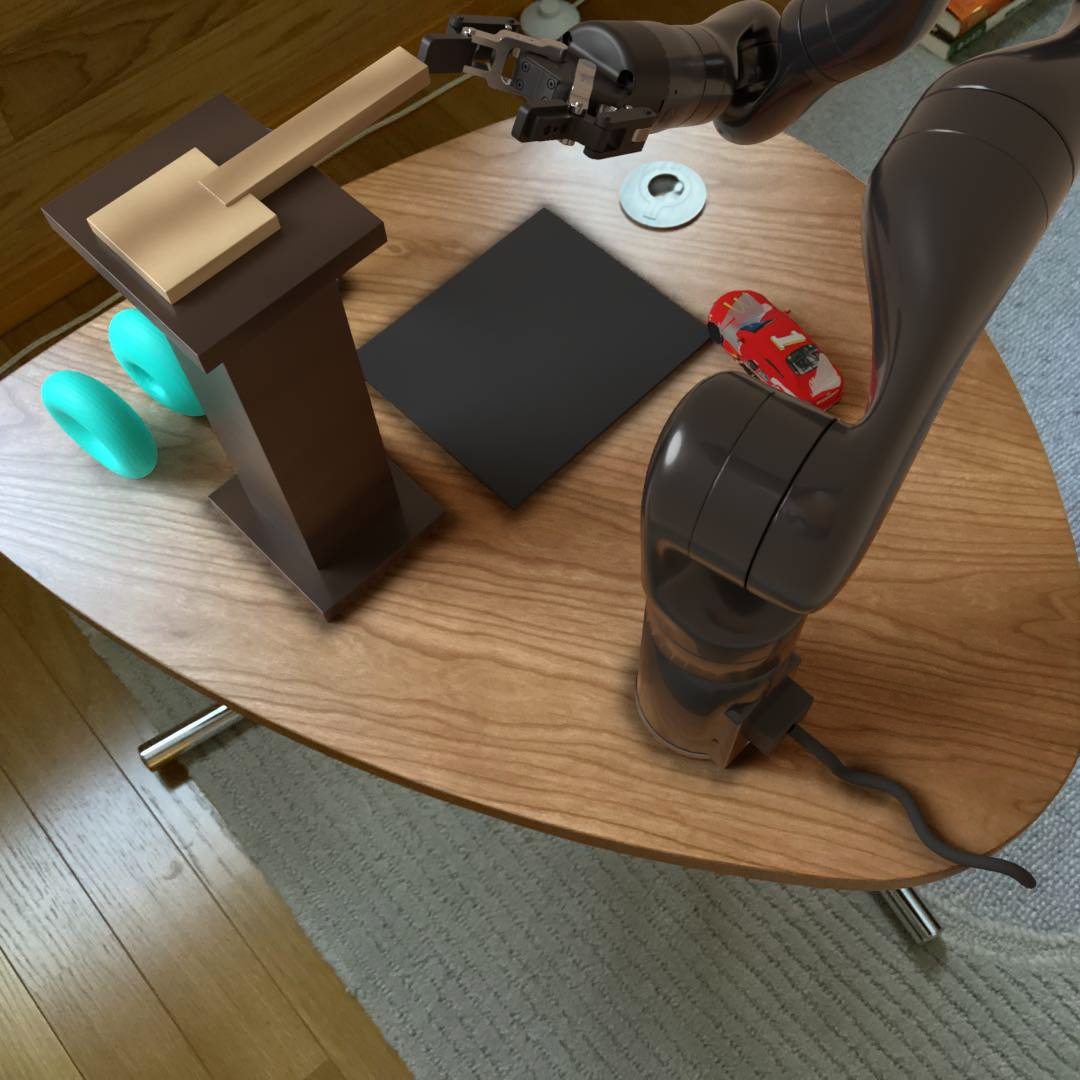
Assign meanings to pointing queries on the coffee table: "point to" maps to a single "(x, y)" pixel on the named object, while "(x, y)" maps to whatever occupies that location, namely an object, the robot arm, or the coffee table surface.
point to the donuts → (104, 414)
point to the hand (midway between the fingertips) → (469, 88)
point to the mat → (530, 355)
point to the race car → (774, 348)
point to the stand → (275, 367)
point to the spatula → (241, 184)
